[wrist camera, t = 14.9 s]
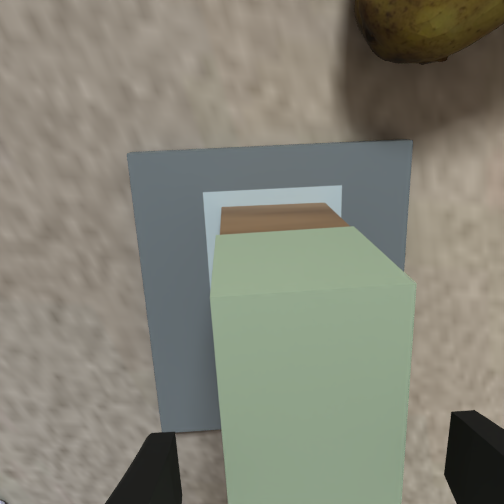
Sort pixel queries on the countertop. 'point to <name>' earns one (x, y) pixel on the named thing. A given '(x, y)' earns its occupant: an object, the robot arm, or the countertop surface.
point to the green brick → (311, 366)
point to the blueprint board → (208, 226)
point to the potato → (425, 27)
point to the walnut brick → (278, 218)
